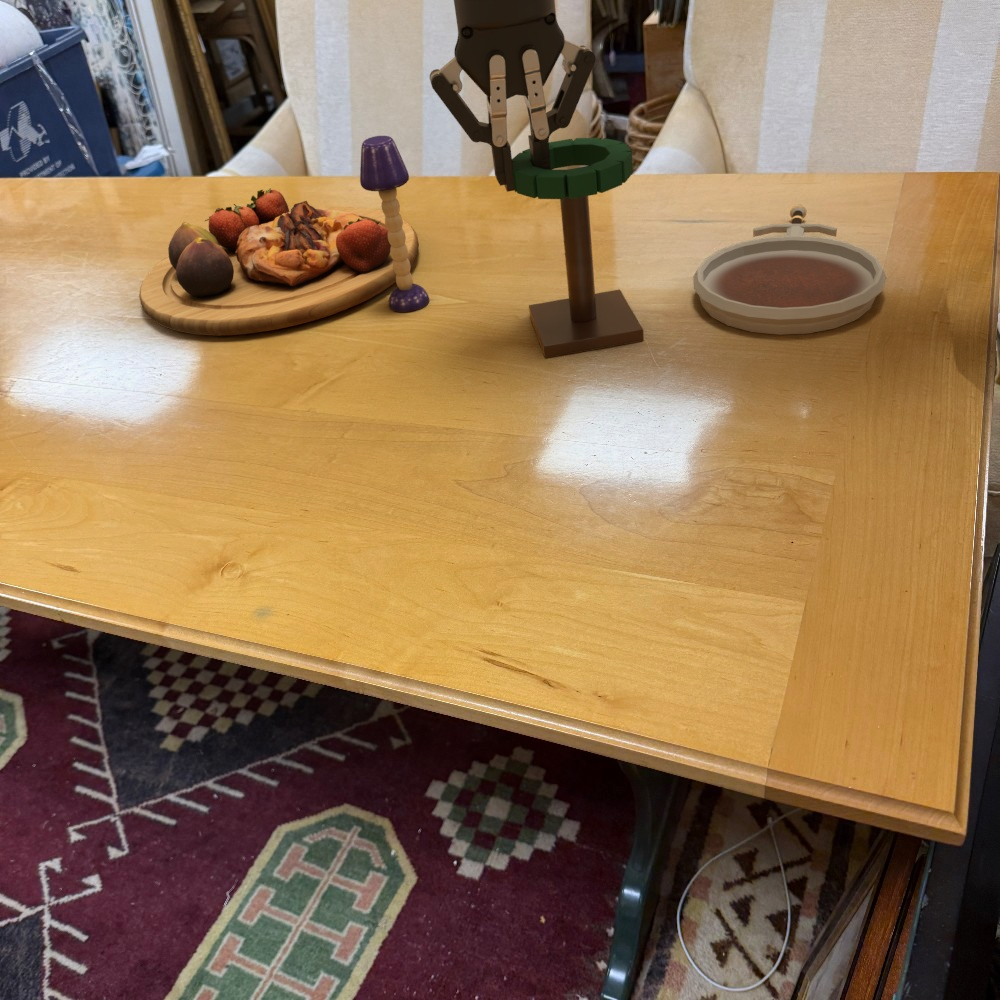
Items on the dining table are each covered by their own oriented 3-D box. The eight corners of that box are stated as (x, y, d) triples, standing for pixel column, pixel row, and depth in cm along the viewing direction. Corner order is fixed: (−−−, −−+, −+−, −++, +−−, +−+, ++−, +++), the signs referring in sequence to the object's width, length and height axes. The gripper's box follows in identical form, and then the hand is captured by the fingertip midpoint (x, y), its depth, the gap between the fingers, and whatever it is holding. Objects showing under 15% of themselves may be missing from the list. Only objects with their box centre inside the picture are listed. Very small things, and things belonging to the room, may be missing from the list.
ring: (616, 151, 81) (615, 131, 80) (644, 186, 73) (644, 163, 72) (505, 170, 80) (502, 149, 79) (521, 207, 72) (519, 184, 71)
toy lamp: (441, 301, 94) (411, 134, 84) (407, 319, 91) (372, 149, 81) (411, 291, 97) (379, 129, 87) (378, 308, 94) (340, 143, 84)
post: (620, 300, 89) (613, 163, 81) (643, 341, 81) (638, 194, 73) (529, 316, 88) (513, 180, 80) (545, 358, 81) (529, 213, 73)
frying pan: (884, 195, 95) (889, 309, 74) (881, 222, 97) (885, 341, 76) (718, 198, 100) (679, 305, 79) (718, 224, 102) (679, 336, 81)
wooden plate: (478, 248, 104) (467, 176, 99) (251, 369, 87) (225, 288, 82) (307, 210, 123) (291, 148, 118) (93, 303, 106) (64, 234, 101)
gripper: (407, -32, 63) (447, 214, 73) (602, -63, 63) (615, 185, 74) (402, -42, 69) (440, 186, 79) (581, -71, 69) (595, 160, 80)
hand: (524, 185), depth 76 cm, fingers closed on ring, 2 cm apart
